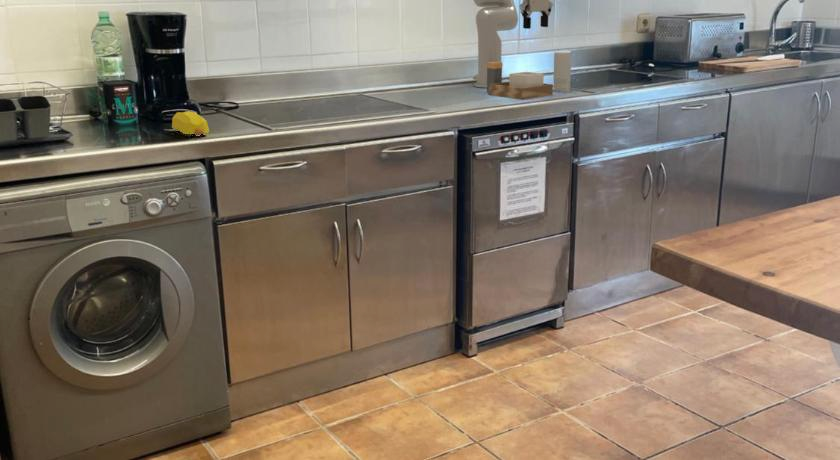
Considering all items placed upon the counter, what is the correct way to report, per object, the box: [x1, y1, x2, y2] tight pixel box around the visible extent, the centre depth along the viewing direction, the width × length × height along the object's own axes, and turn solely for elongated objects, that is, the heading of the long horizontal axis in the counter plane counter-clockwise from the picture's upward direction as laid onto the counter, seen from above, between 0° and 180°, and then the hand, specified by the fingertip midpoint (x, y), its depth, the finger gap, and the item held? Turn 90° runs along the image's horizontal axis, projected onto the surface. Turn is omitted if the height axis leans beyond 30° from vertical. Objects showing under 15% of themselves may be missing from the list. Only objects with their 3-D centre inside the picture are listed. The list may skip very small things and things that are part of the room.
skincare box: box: [553, 50, 572, 93], centre depth 319 cm, size 8×7×16 cm
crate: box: [488, 81, 554, 101], centre depth 310 cm, size 18×16×5 cm
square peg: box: [486, 61, 503, 94], centre depth 317 cm, size 4×4×12 cm
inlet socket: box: [508, 71, 545, 88], centre depth 309 cm, size 9×9×8 cm
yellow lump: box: [171, 110, 210, 135], centre depth 248 cm, size 18×7×8 cm
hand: (535, 27), depth 305 cm, fingers open, 9 cm apart
